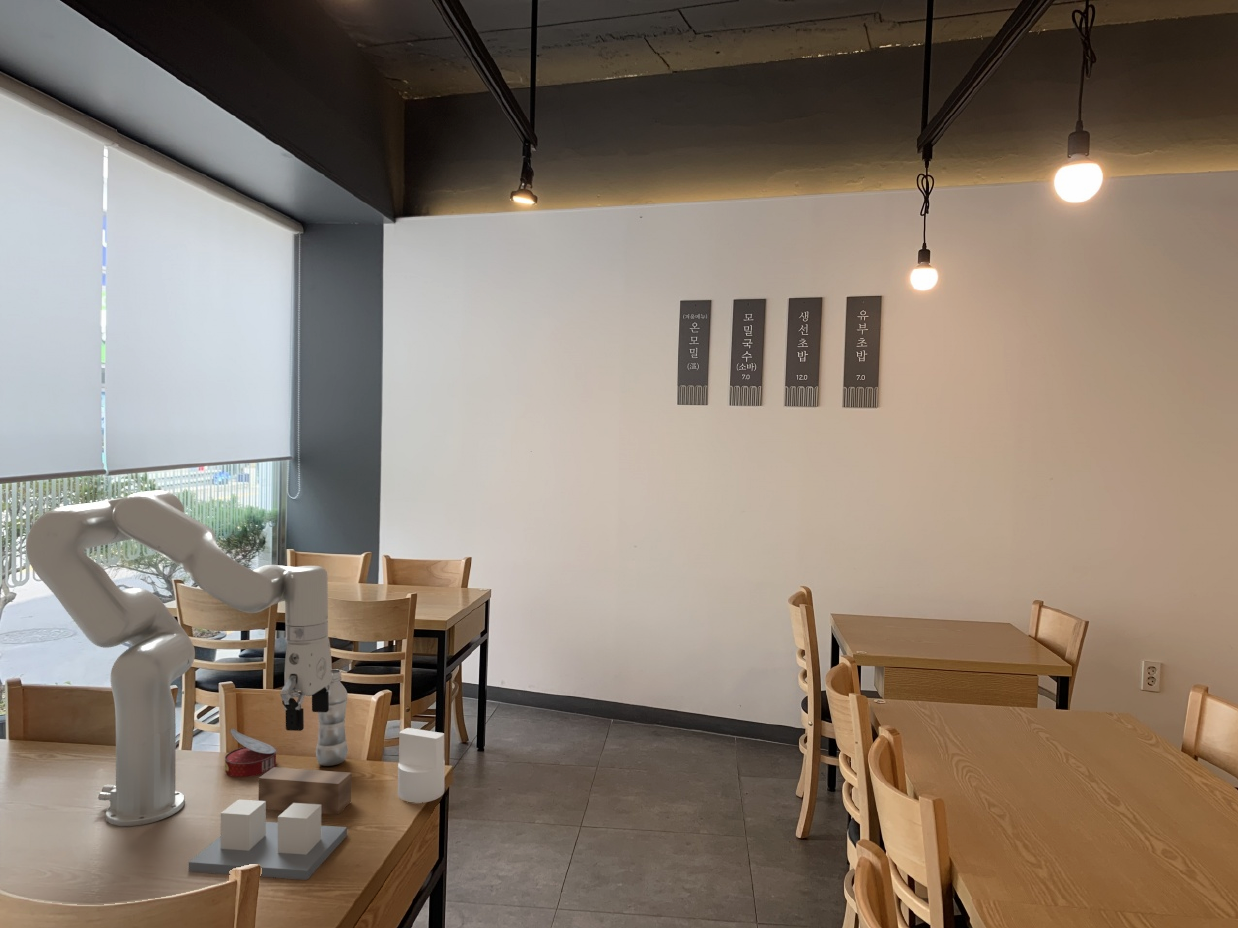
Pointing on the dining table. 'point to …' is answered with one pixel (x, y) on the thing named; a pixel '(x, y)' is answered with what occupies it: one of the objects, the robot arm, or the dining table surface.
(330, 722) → the plastic bottle
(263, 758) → the canned food
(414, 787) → the cylinder with rectangular tab
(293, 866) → the board
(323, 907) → the dining table surface
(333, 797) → the beam
